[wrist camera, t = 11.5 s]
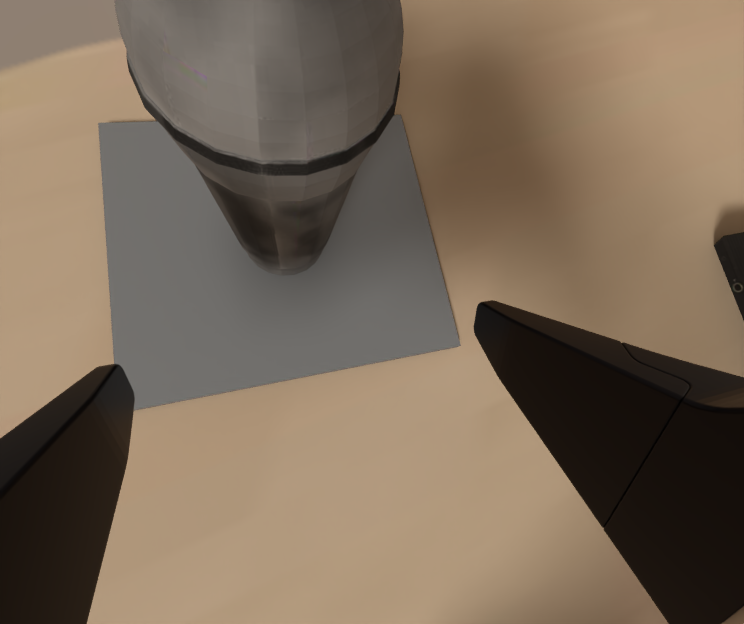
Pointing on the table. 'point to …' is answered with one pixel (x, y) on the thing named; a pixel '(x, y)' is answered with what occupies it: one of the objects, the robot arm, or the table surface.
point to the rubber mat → (260, 276)
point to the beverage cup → (269, 105)
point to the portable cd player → (733, 264)
